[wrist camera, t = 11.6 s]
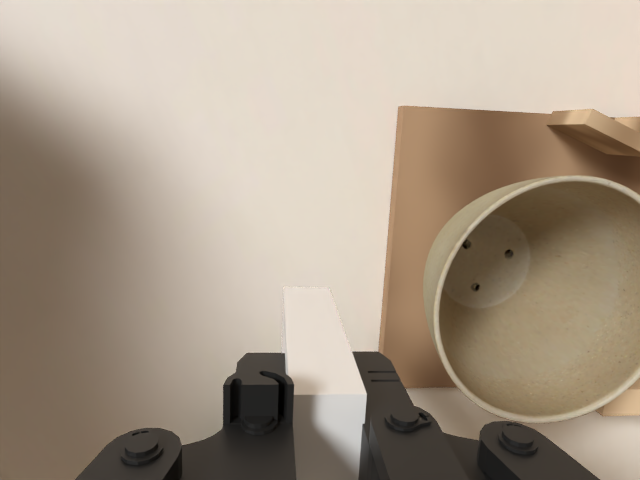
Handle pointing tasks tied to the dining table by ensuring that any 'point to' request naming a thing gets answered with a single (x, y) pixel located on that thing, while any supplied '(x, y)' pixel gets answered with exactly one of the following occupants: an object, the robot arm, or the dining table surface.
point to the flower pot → (539, 297)
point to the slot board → (468, 185)
